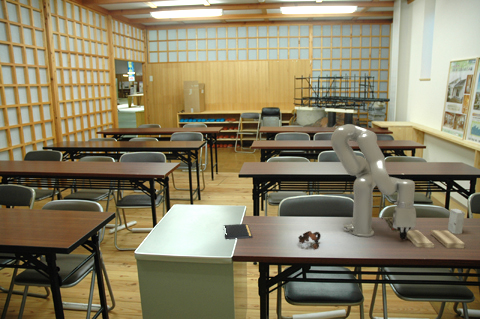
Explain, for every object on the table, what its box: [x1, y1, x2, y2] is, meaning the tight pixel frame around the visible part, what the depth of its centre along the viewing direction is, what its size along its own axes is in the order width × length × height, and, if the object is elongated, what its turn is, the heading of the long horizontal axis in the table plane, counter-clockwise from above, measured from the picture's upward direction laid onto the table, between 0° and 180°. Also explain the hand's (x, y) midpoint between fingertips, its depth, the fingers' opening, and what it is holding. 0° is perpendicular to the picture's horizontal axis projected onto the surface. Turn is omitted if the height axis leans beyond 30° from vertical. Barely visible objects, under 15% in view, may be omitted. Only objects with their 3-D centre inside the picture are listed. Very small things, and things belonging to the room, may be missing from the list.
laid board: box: [429, 229, 466, 249], centre depth 179 cm, size 9×16×2 cm, turn 176°
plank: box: [406, 229, 435, 249], centre depth 180 cm, size 8×16×2 cm, turn 177°
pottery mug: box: [298, 230, 322, 250], centre depth 177 cm, size 12×10×8 cm
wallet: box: [223, 223, 254, 240], centre depth 195 cm, size 20×2×15 cm
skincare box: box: [447, 208, 466, 235], centre depth 189 cm, size 6×4×12 cm
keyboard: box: [381, 216, 400, 233], centre depth 202 cm, size 22×9×2 cm, turn 170°
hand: (402, 238), depth 180 cm, fingers closed
